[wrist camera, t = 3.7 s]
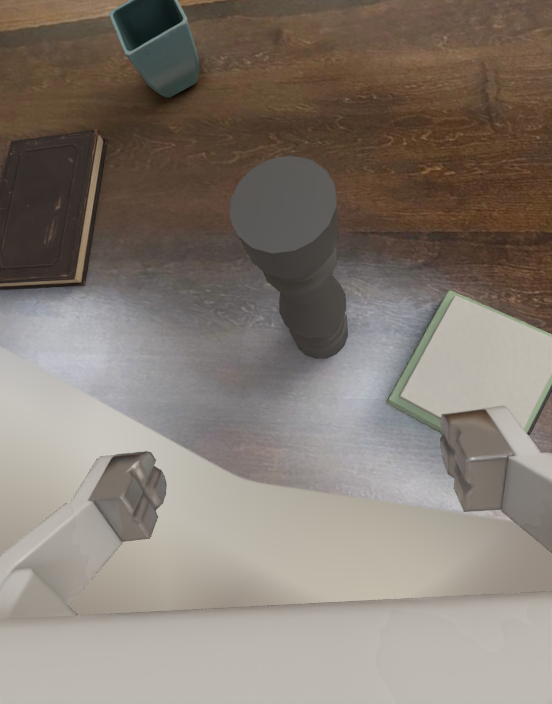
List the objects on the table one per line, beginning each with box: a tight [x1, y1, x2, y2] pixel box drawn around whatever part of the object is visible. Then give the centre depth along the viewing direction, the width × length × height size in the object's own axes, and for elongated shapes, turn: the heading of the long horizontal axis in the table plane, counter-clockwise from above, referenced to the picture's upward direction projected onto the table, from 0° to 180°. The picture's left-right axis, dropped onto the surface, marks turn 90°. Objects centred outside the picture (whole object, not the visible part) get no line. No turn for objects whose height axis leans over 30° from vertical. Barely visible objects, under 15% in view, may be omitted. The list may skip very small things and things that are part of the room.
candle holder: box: [230, 156, 348, 358], centre depth 32 cm, size 6×6×25 cm
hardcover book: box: [0, 129, 107, 289], centre depth 54 cm, size 16×23×2 cm
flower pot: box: [109, 0, 199, 98], centre depth 52 cm, size 9×9×9 cm
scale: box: [387, 290, 552, 435], centre depth 37 cm, size 13×12×4 cm
